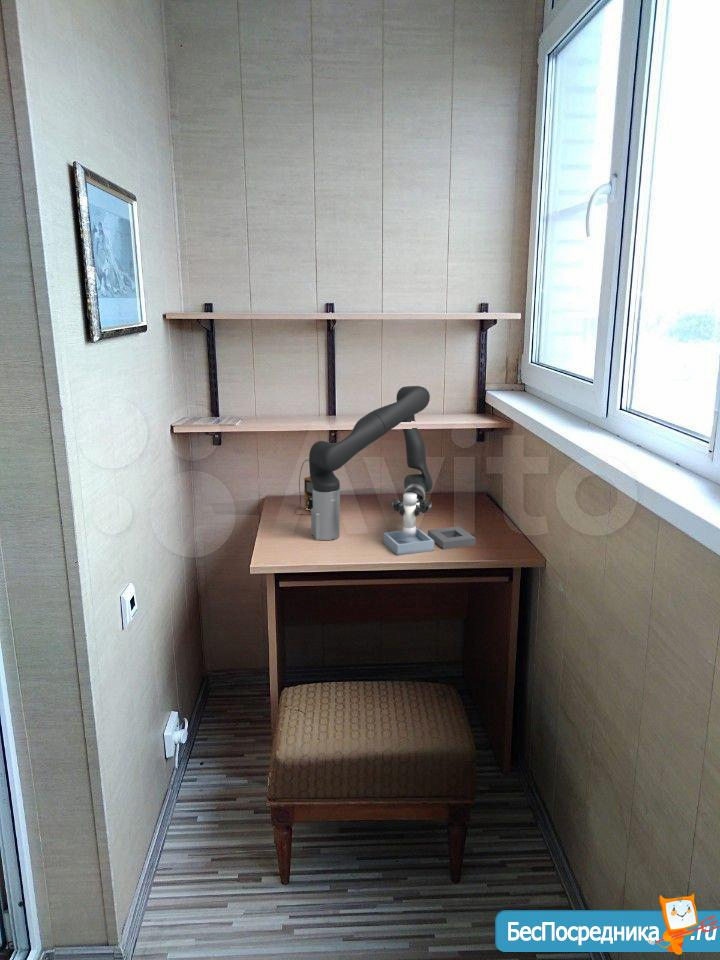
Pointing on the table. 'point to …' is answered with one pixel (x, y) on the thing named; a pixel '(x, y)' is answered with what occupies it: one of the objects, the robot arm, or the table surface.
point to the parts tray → (408, 542)
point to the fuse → (409, 514)
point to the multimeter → (307, 491)
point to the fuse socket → (457, 537)
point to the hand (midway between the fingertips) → (408, 513)
